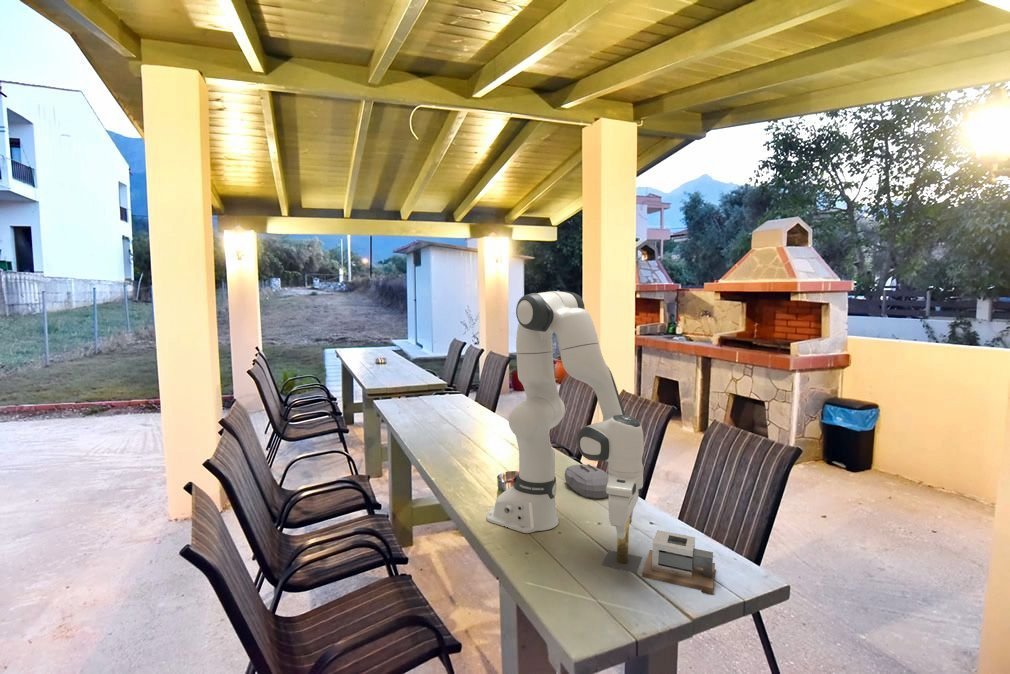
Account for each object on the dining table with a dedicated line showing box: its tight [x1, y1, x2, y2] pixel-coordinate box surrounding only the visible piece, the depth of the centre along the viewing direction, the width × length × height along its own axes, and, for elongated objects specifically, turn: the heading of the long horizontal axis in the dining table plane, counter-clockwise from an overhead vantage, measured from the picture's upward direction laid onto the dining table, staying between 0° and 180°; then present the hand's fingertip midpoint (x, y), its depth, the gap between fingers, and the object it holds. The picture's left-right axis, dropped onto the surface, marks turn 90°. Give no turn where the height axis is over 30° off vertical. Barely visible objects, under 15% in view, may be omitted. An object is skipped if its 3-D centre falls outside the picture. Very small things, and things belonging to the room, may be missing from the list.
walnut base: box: [641, 549, 716, 595], centre depth 133 cm, size 16×13×2 cm
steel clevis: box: [652, 529, 714, 578], centre depth 133 cm, size 14×8×7 cm, turn 66°
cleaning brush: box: [564, 463, 609, 499], centre depth 190 cm, size 15×8×20 cm
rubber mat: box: [601, 549, 643, 574], centre depth 138 cm, size 9×9×1 cm
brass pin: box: [616, 517, 630, 564], centre depth 137 cm, size 3×3×16 cm
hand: (624, 530), depth 137 cm, fingers open, 8 cm apart
